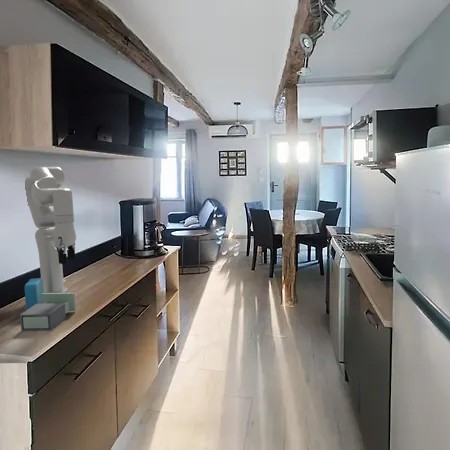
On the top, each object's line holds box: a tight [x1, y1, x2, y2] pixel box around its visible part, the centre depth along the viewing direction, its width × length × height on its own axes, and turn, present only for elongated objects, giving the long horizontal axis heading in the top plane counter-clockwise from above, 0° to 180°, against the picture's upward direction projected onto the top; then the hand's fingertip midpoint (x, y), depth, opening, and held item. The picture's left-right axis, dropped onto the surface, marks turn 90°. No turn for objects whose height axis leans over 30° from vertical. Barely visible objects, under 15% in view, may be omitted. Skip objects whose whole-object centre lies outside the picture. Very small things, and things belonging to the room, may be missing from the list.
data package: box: [24, 277, 44, 311], centre depth 162 cm, size 12×4×12 cm, turn 14°
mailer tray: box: [23, 292, 77, 329], centre depth 149 cm, size 19×13×8 cm
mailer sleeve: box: [19, 303, 67, 332], centre depth 145 cm, size 12×11×6 cm
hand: (67, 260), depth 162 cm, fingers open, 7 cm apart
